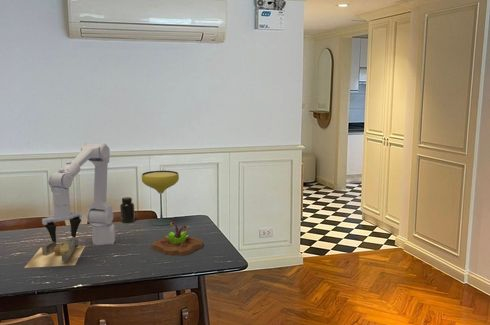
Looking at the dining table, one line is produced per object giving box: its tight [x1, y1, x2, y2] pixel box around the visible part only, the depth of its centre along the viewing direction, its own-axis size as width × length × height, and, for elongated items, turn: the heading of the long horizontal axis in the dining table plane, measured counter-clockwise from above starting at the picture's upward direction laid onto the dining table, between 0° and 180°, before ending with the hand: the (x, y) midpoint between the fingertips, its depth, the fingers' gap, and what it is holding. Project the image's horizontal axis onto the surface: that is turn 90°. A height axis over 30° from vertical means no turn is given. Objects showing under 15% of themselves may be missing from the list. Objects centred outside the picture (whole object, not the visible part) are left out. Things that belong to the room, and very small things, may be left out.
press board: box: [24, 245, 86, 269], centre depth 187 cm, size 18×22×1 cm
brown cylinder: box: [54, 244, 62, 256], centre depth 189 cm, size 4×4×3 cm
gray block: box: [41, 240, 57, 256], centre depth 190 cm, size 2×6×4 cm, turn 164°
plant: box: [150, 221, 204, 257], centre depth 200 cm, size 20×20×11 cm
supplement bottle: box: [119, 196, 136, 224], centre depth 238 cm, size 7×7×12 cm
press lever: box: [59, 237, 79, 261], centre depth 187 cm, size 19×4×7 cm, turn 9°
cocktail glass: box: [141, 170, 180, 227], centre depth 235 cm, size 18×18×25 cm
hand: (63, 239), depth 178 cm, fingers open, 7 cm apart
